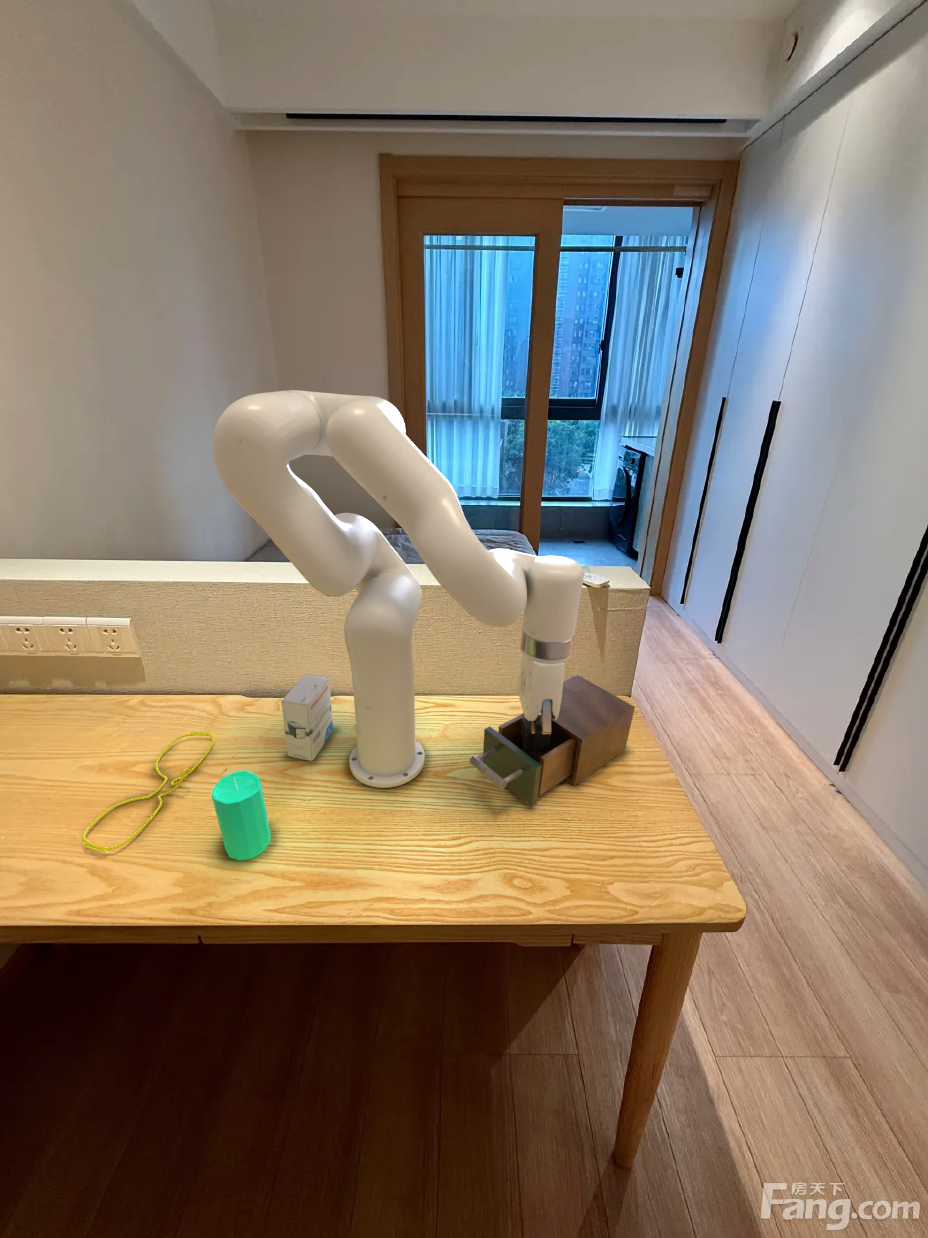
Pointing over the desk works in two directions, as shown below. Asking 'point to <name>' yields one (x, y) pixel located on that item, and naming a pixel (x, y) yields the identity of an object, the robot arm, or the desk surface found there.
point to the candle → (242, 815)
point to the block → (524, 730)
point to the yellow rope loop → (149, 795)
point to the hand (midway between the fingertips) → (533, 739)
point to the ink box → (307, 716)
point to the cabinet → (593, 725)
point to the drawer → (524, 761)
